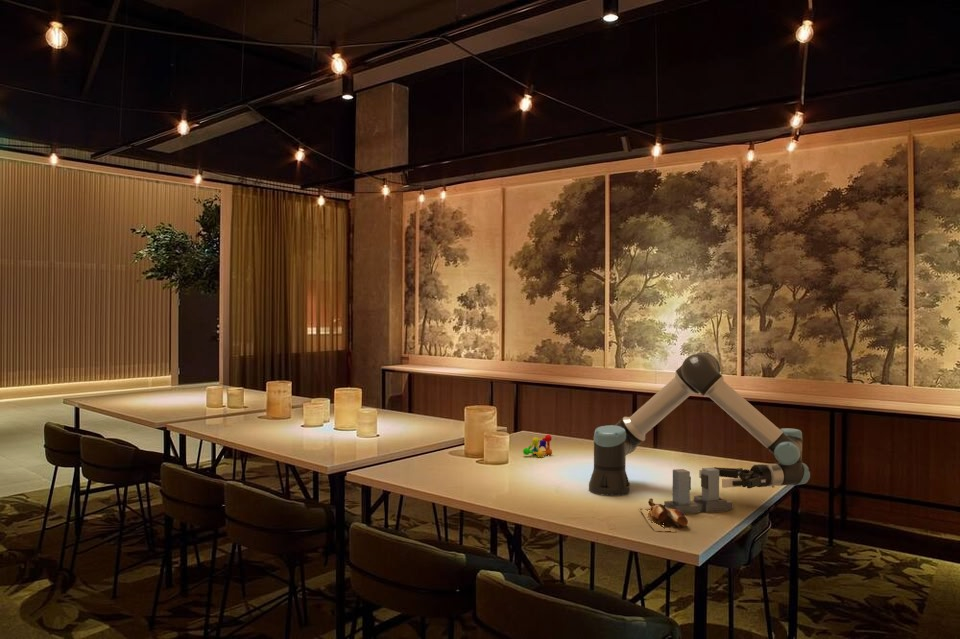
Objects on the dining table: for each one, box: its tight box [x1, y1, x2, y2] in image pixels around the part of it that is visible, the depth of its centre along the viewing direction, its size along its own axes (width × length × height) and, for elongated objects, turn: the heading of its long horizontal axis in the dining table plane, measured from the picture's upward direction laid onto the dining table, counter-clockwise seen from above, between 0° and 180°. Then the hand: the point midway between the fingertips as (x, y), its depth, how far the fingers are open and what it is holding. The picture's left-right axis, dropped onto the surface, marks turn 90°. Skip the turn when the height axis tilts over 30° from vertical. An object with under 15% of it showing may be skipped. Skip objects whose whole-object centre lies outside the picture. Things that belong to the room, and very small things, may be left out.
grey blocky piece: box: [663, 468, 734, 515], centre depth 230 cm, size 22×8×14 cm, turn 104°
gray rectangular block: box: [700, 467, 720, 501], centre depth 231 cm, size 5×4×11 cm
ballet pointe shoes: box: [639, 497, 689, 533], centre depth 219 cm, size 14×7×28 cm
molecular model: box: [522, 434, 553, 458], centre depth 317 cm, size 11×10×15 cm
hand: (710, 478), depth 231 cm, fingers open, 13 cm apart
